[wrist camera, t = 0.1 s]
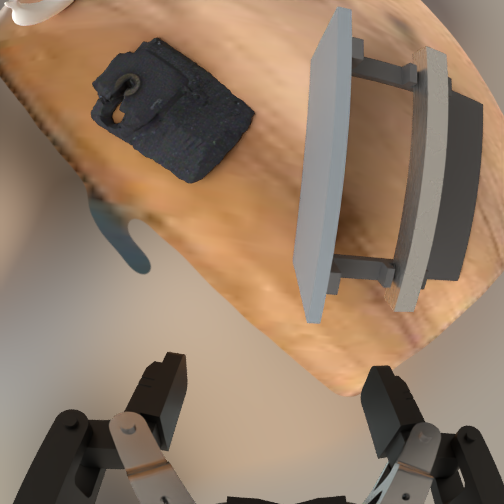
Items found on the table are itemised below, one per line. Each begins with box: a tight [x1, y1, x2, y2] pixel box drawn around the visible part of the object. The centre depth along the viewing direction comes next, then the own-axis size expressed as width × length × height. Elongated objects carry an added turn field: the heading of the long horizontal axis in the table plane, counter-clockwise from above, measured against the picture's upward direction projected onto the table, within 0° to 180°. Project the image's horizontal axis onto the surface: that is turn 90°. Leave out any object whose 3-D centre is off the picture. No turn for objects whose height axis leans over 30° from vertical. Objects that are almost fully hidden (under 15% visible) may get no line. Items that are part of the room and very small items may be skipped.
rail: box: [384, 46, 448, 312], centre depth 23 cm, size 26×2×3 cm, turn 176°
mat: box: [426, 91, 483, 281], centre depth 36 cm, size 30×10×1 cm, turn 176°
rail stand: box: [293, 7, 452, 324], centre depth 29 cm, size 28×13×16 cm, turn 176°
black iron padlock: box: [91, 38, 255, 183], centre depth 33 cm, size 15×22×5 cm
